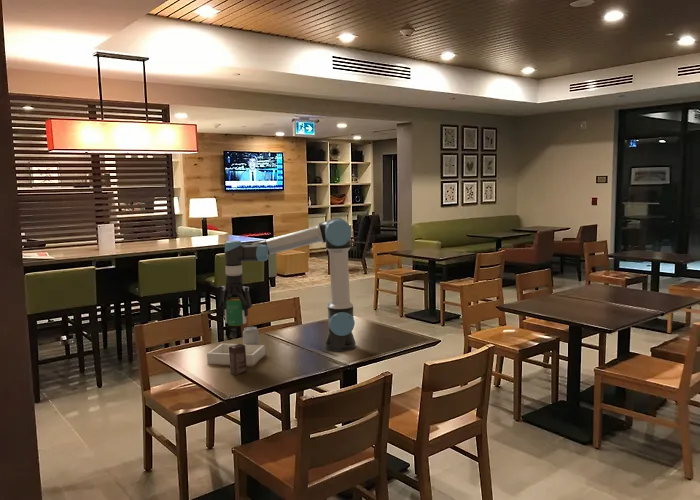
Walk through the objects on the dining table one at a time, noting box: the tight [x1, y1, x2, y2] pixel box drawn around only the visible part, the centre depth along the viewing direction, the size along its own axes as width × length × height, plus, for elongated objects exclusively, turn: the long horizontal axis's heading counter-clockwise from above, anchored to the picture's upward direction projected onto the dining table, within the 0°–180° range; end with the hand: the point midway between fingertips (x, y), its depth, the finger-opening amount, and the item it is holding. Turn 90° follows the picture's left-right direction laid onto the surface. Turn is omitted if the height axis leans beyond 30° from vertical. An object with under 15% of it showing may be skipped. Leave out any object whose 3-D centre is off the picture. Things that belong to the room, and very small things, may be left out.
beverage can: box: [226, 296, 244, 327], centre depth 261 cm, size 8×8×12 cm
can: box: [242, 326, 260, 345], centre depth 275 cm, size 8×8×12 cm
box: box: [229, 343, 248, 376], centre depth 244 cm, size 6×4×12 cm
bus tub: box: [206, 343, 266, 367], centre depth 263 cm, size 22×16×5 cm
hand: (235, 322), depth 261 cm, fingers closed on beverage can, 8 cm apart
